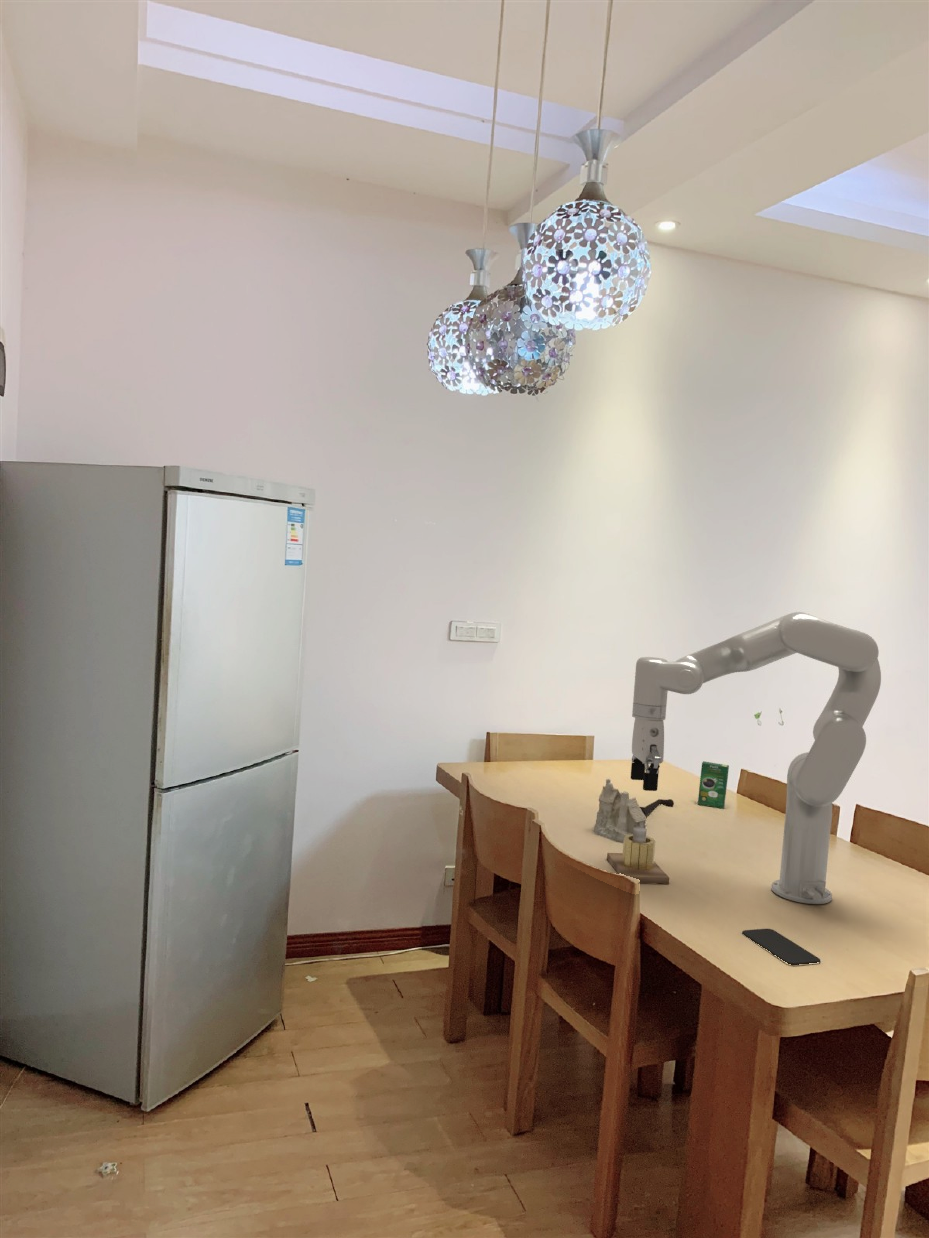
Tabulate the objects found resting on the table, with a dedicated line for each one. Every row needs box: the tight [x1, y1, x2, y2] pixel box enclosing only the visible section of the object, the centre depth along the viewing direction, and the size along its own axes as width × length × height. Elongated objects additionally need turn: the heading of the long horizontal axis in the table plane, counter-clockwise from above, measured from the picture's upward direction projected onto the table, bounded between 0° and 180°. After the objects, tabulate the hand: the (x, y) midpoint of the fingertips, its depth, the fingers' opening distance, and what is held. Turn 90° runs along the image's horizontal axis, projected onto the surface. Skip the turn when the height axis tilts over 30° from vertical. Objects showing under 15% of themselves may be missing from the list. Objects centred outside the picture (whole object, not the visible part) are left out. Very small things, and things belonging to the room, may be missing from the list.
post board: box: [606, 827, 670, 885], centre depth 208 cm, size 16×10×10 cm, turn 6°
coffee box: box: [697, 760, 730, 809], centre depth 271 cm, size 8×3×13 cm, turn 67°
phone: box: [741, 928, 821, 965], centre depth 170 cm, size 7×1×15 cm
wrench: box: [639, 798, 675, 818], centre depth 257 cm, size 5×5×30 cm
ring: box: [622, 835, 656, 870], centre depth 208 cm, size 7×7×6 cm
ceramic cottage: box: [592, 778, 647, 844], centre depth 237 cm, size 16×16×15 cm
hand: (643, 784), depth 207 cm, fingers open, 9 cm apart
